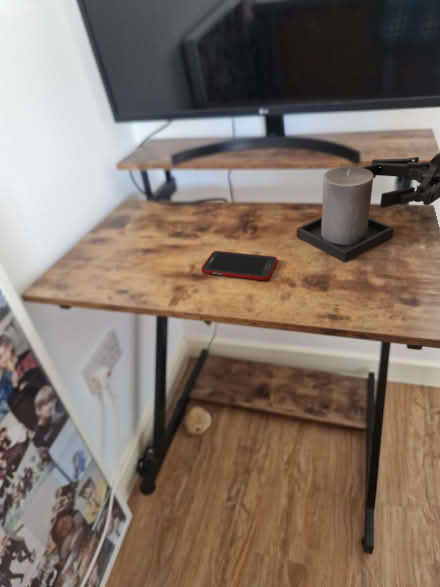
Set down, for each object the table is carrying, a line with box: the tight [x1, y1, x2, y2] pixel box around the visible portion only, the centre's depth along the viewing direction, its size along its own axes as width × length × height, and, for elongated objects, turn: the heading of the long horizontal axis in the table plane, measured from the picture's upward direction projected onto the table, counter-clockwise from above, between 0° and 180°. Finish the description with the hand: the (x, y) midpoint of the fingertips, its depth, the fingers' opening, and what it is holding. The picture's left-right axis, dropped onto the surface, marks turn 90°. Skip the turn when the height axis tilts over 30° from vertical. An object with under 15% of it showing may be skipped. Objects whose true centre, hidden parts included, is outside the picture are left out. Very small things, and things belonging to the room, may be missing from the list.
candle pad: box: [296, 216, 395, 263], centre depth 88 cm, size 14×14×2 cm
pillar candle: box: [321, 165, 374, 246], centre depth 84 cm, size 10×10×15 cm
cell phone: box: [200, 250, 278, 281], centre depth 84 cm, size 8×15×1 cm, turn 69°
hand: (363, 188), depth 83 cm, fingers open, 13 cm apart
